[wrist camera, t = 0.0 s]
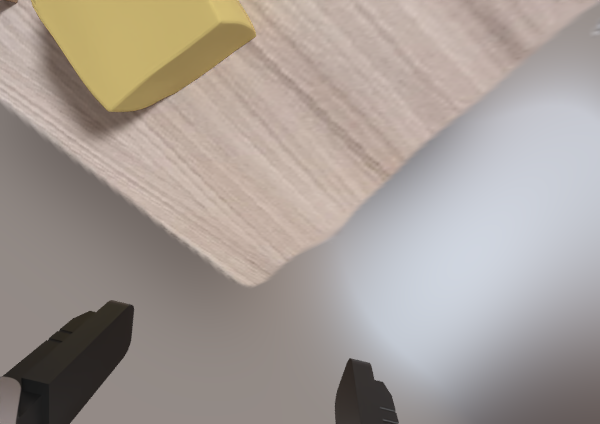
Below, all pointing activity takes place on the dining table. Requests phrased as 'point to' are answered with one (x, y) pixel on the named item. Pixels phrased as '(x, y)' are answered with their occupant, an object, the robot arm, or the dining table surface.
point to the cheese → (143, 44)
